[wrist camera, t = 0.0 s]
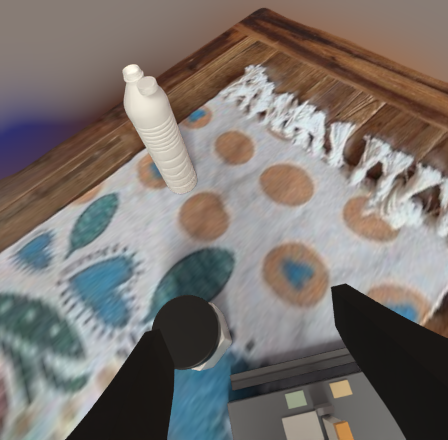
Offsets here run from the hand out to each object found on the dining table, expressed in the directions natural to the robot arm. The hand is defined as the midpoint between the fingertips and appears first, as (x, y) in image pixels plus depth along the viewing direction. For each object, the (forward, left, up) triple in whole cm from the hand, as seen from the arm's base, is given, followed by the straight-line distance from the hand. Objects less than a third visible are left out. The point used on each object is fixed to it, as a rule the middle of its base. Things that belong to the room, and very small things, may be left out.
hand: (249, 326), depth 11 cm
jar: (+3, +8, -32) cm, 34 cm away
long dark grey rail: (-4, -6, -32) cm, 33 cm away
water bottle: (+33, +7, -32) cm, 47 cm away
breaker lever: (-11, -6, -29) cm, 32 cm away
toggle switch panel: (-11, -8, -32) cm, 35 cm away
